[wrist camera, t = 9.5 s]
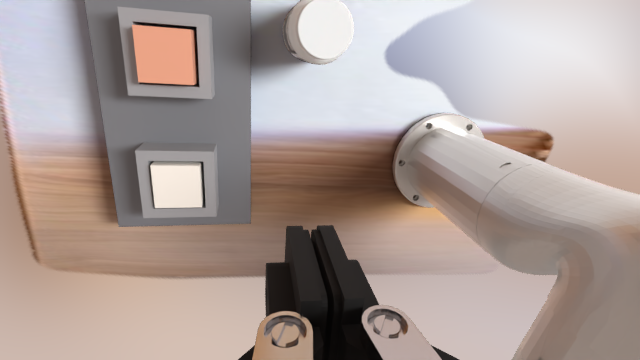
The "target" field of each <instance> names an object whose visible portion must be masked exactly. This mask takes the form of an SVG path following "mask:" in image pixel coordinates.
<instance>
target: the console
mask: <svg viewBox="0 0 640 360" xmlns="http://www.w3.org/2000/svg"><path fill="white" fill-rule="evenodd" d="M84 1H85V8H86V15H87V21H88V28H89V34H90V41H91V47H92V54H93V60H94V67H95V74H96V80H97V87H98V93H99V100H100V106H101V113H102V119H103V126H104V133H105V139H106V146H107V152H108V159H109V165H110V172H111V178H112V185H113V192H114V198H115V205H116V211H117V218H118V224H119V227H133V226H173V225H212V224H251V0H84ZM132 25H142V26H154V27H166V28H178V29H190V30H194V31H196V40H197V60H198V79H199V82H198V83H196V84H195V85H182V84H163V83H144V82H138V74H137V65H136V56H135V47H134V39H133V30H132ZM154 161H203V163H204V183H205V199H204V202H203V206H202V207H192V208H155V204H154V195H153V186H152V176H151V167H150V165H151V164H152V163H153V162H154Z"/></svg>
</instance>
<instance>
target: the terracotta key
mask: <svg viewBox="0 0 640 360" xmlns="http://www.w3.org/2000/svg"><path fill="white" fill-rule="evenodd" d="M132 30H133V39H134V47H135V56H136V65H137V74H138V82H144V83H163V84H182V85H195V84H196V83H198V82H199V79H198V60H197V40H196V31H194V30H190V29H178V28H166V27H154V26H142V25H132Z"/></svg>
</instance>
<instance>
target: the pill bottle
mask: <svg viewBox="0 0 640 360" xmlns="http://www.w3.org/2000/svg"><path fill="white" fill-rule="evenodd" d="M353 33H354V23H353V18H352V15H351V13H350V11H349V10H348V8H347V7H346V6H345V5H344V4H343V3H342V2H341V1H339V0H300V1H299V2H298V3H297V4H296V6H295V7H294V8H293V9H292V10H291V11H290V12H289V13H288V15H287V16H286V18H285V21H284V24H283V39H284V43H285V45H286V47H287V49H288V50H289V52H290V53H291V54H292V55H293V56H295V57H296V58H298V59H299V60H302V61H305V62H308V63H311V64H318V65H320V64H327V63H330V62H332V61H334V60H336V59H337V58H338V57H339V56H340V55H341V54H342V53H343V52H344V51H345V50H346V49H347V48H348V46H349V45H350V43H351V41H352V38H353Z"/></svg>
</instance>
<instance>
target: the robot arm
mask: <svg viewBox="0 0 640 360" xmlns="http://www.w3.org/2000/svg"><path fill="white" fill-rule="evenodd" d="M426 124H427V126H426ZM400 160H401V161H400ZM399 161H400V162H399ZM393 176H394V181H395V183H396V185H397V188H398V189H399V190H400V192H401V193H402V194H403V195H404V196H405V197H406V198H407V199H408V200H409V201H411V202H412V203H414V204H417V205H419V206H423V207H428V208H431V207H435V208H437V209H438V210H439V211H440V212H441V213H442V214H443V215H445V216H446V217H447V218H448V219H449V220H450V221H451V222H453V223H454V224H455V225H456V226H457V227H458V228H459V229H461V230H462V231H463V232H464V233H465V234H466V235H468V236H469V237H470V238H471V239H472V240H473V241H474V242H476V243H477V244H478V245H479V246H480V247H481V248H482V249H484V250H485V251H486V252H487V253H488V254H490V255H491V256H492V257H493V258H494V259H496V260H497V261H498V262H500V263H501V264H503V265H504V266H506V267H508V268H510V269H513V270H516V271H519V272H522V273H527V274H534V275H558V277H557V280H556V282H555V284H554V286H553V288H552V289H551V291H550V293H549V295H548V299H547V301H546V303H545V304H544V306H543V307H542V309H541V311H540V312H539V314H538V316H537V317H536V319H535V321H534V322H533V324H532V326H531V327H530V329H529V331H528V332H527V334H526V336H525V338H524V339H523V341H522V342H521V344H520V346H519V347H518V349H517V351H516V353H515V355H514V357H513V359H512V360H640V195H639V194H636V193H632V192H629V191H625V190H621V189H618V188H614V187H611V186H608V185H605V184H602V183H599V182H596V181H593V180H590V179H587V178H585V177H582V176H579V175H576V174H573V173H571V172H568V171H566V170H563V169H561V168H558V167H555V166H553V165H550V164H547V163H545V162H542V161H540V160H537V159H535V158H532V157H530V156H527V155H524V154H522V153H519V152H517V151H514V150H512V149H509V148H507V147H504V146H502V145H499V144H496V143H494V142H491V141H489V140H486V139H484V136H483V134H482V132H481V130H480V129H479V128H478V126H477V125H476V124H475V123H474V122H472V121H471V120H470V119H468V118H466V117H463V116H461V115H457V114H453V113H440V114H434V115H432V116H429V117H426V118H424V119H423V120H421V121H419V122H417V123H416V124H415V125H414V126H413V127H411V128H410V129H409V130H408V132H407V133H406V134H405V135H404V136H403V138H402V139H401V141H400V143H399V144H398V147H397V149H396V152H395V155H394V160H393ZM265 290H266V291H265V292H266V293H265V295H266V318H265V319H264V320H263V321H262V322H261V323H260V326H259V328H258V333H257V337H256V342H255V346H253V347H252V348H251V349H250V350H249V351H248V352H247V353H245V354H244V355H243V356H242V357H241V358H239V359H238V360H459V359H457V358H455V357H453V356H451V355H449V354H447V353H445V352H443V351H441V350H439V349H437V348H435V347H433V346H432V345H430V344H429V342H428V341H427V340H426V338H425V337H424V336H423V335H422V333H421V332H420V331H419V330H418V329H417V327H416V326H415V324H414V323H413V322H412V320H411V319H410V318H409V317H408V316H407V315H406V314H405V313H404V312H402V311H400V310H399V309H397V308H394V307H391V306H386V305H379V304H378V302H377V299H376V297H375V295H374V293H373V291H372V289H371V287H370V285H369V283H368V281H367V279H366V277H365V275H364V273H363V270H362V268H361V266H360V264H359V262H358V261H357V260H348V258H347V256H346V254H345V252H344V249H343V247H342V245H341V242H340V240H339V238H338V236H337V233H336V231H335V229H334V227H333V225H329V226H317V230H312V232H311V238H310V235H309V231H308V230H303V227H302V226H287V228H286V247H285V262H283V263H266V288H265Z"/></svg>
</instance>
